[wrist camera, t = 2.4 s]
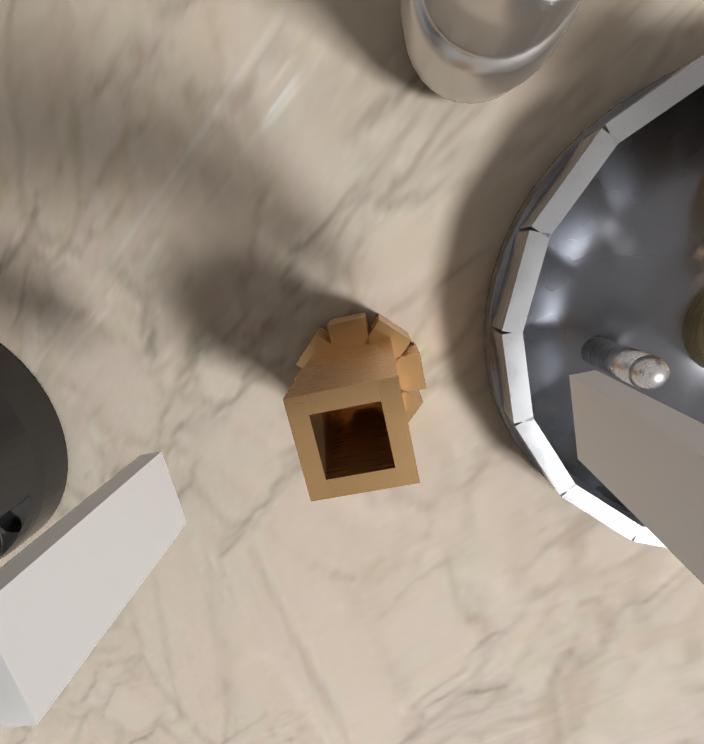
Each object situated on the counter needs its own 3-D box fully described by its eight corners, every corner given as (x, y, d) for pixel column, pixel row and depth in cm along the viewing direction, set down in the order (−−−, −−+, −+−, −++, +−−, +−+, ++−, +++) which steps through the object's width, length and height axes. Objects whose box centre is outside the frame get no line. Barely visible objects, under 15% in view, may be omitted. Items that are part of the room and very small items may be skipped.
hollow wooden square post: (318, 435, 24) (286, 536, 15) (290, 327, 22) (237, 371, 14) (428, 414, 23) (461, 507, 14) (407, 302, 22) (429, 331, 13)
